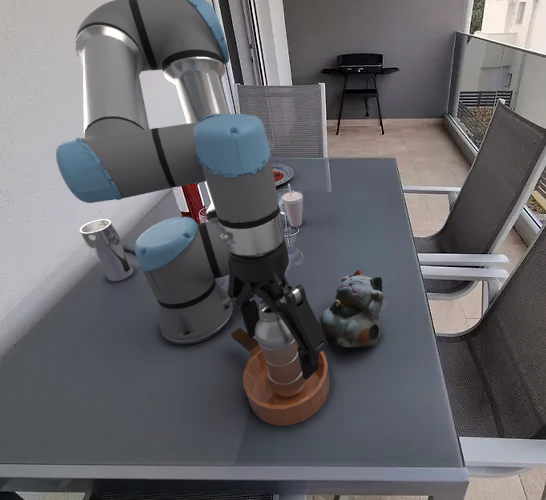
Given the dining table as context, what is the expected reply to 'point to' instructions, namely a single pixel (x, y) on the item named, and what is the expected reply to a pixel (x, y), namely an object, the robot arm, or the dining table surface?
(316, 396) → the pan
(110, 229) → the silver metal cup
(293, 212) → the smoothie
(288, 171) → the ceramic plate
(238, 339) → the pan handle
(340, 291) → the lucky cat figurine
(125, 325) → the dining table surface
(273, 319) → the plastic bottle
